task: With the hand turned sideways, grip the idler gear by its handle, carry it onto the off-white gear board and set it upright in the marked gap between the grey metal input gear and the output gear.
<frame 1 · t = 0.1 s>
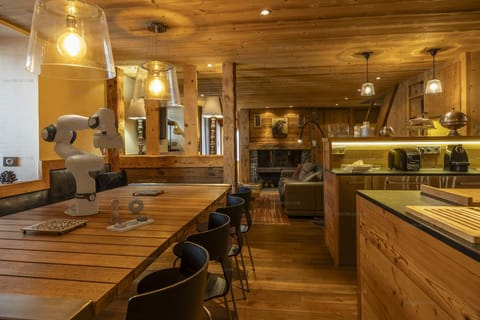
hand: (110, 155, 183), 39 cm above the table, tool pointing down, fingers open, 8 cm apart
donut: (136, 213, 197), on the table
gear board: (131, 225, 165), on the table
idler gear: (115, 223, 170), on the table
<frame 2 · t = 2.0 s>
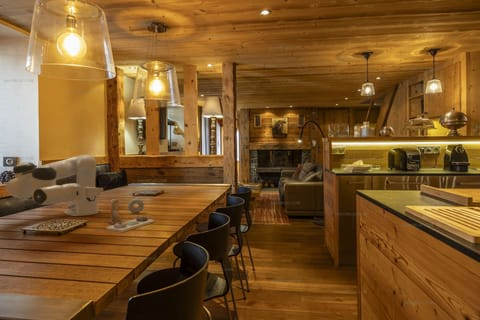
hand: (96, 188, 158), 21 cm above the table, tool horizontal, fingers open, 8 cm apart
nothing on the table moved.
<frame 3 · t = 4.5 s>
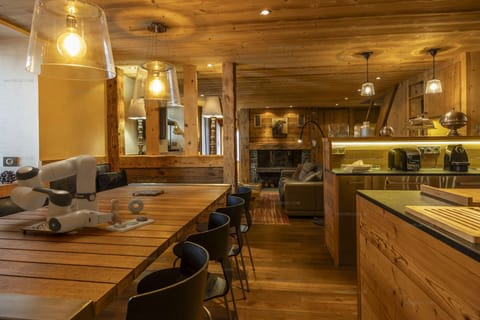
hand: (106, 213, 164), 7 cm above the table, tool horizontal, fingers open, 8 cm apart
nothing on the table moved.
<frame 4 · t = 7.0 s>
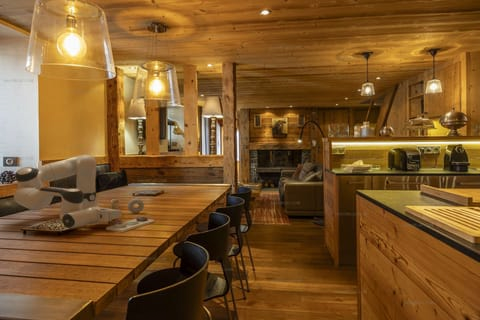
hand: (116, 210, 171), 7 cm above the table, tool horizontal, fingers closed on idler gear, 4 cm apart
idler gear: (115, 222, 170), on the table, touching gripper
everything else where it was.
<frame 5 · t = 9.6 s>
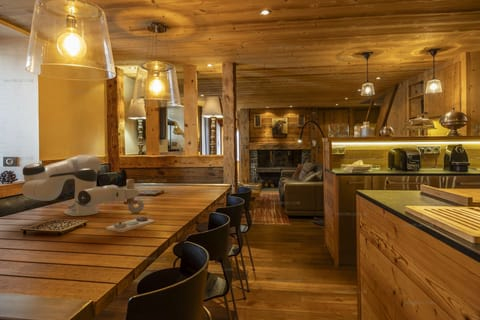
hand: (131, 190, 164), 20 cm above the table, tool horizontal, fingers closed on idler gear, 4 cm apart
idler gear: (130, 203, 164), point 12 cm above the table, touching gripper
everything else where it was.
when the fingers open (10 cm above the table, at t = 12.7 s): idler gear drops 1 cm, resting on gear board.
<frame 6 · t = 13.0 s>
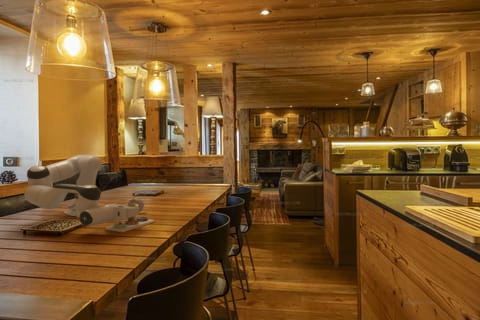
hand: (132, 207, 165), 10 cm above the table, tool horizontal, fingers open, 6 cm apart
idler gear: (131, 223, 164), point 1 cm above the table, touching gear board
everything else where it was.
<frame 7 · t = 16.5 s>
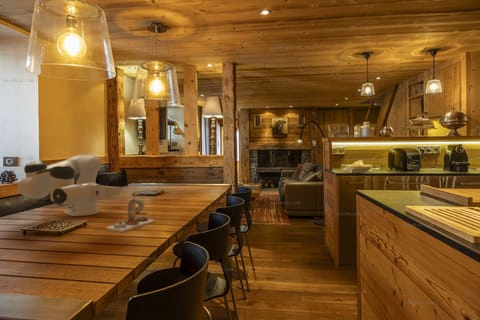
hand: (114, 188, 153), 23 cm above the table, tool horizontal, fingers open, 8 cm apart
nothing on the table moved.
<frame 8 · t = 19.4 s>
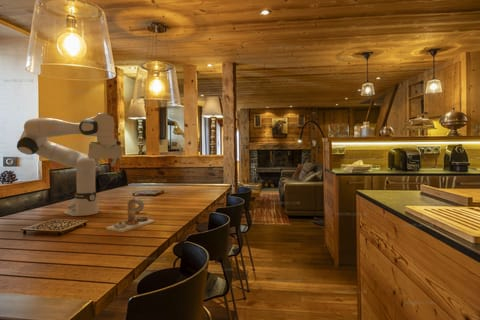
hand: (106, 166, 165), 33 cm above the table, tool pointing down, fingers open, 8 cm apart
nothing on the table moved.
at the end: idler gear 0.1 cm off-centre on the gear board, point 1.4 cm above the gear board's base; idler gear tilted 0°; the gripper is holding nothing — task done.
